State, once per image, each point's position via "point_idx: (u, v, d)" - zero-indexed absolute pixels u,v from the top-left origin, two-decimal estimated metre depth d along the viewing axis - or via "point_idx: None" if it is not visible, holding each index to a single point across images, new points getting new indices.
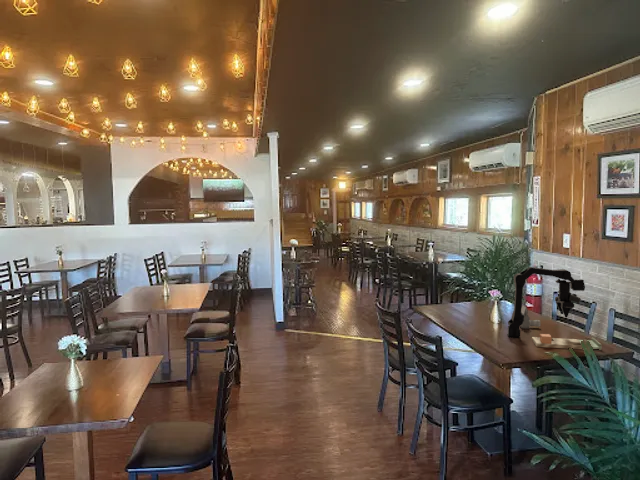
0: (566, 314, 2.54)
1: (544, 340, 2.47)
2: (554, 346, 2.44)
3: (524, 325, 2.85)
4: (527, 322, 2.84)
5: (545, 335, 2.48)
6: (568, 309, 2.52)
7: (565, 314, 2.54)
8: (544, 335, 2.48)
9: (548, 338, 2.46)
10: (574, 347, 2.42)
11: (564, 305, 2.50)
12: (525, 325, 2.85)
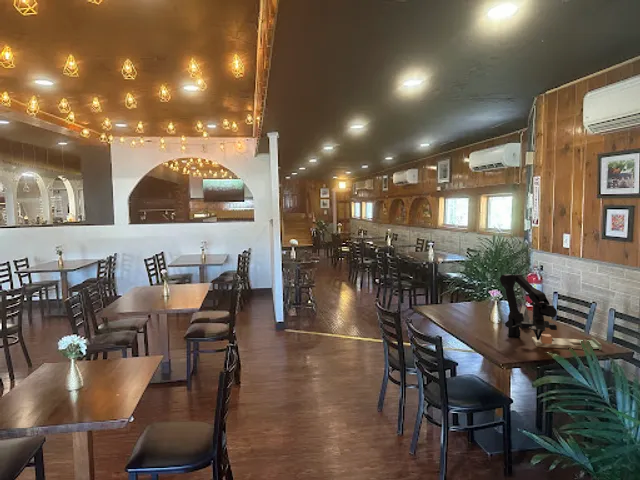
0: (536, 336, 2.50)
1: (544, 340, 2.47)
2: (554, 346, 2.44)
3: None
4: None
5: (545, 335, 2.48)
6: None
7: None
8: (544, 335, 2.48)
9: (549, 338, 2.46)
10: (574, 347, 2.42)
11: (520, 324, 2.54)
12: None
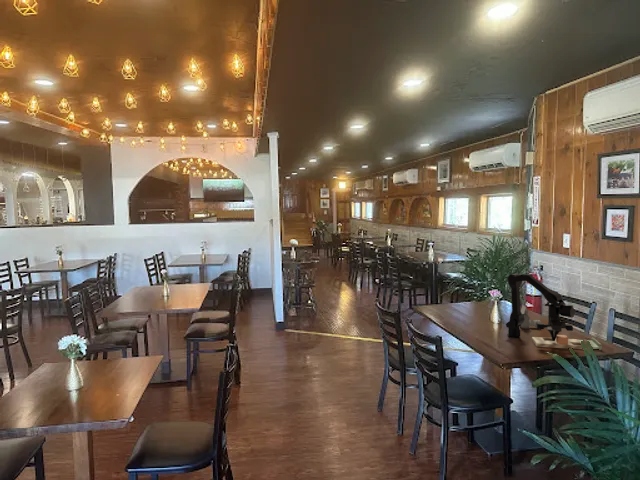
0: (551, 337, 2.48)
1: (560, 340, 2.44)
2: (554, 346, 2.44)
3: (524, 325, 2.85)
4: (527, 322, 2.84)
5: (561, 336, 2.46)
6: None
7: (551, 337, 2.48)
8: (560, 336, 2.46)
9: (565, 339, 2.44)
10: (574, 347, 2.42)
11: (535, 325, 2.52)
12: (525, 325, 2.85)
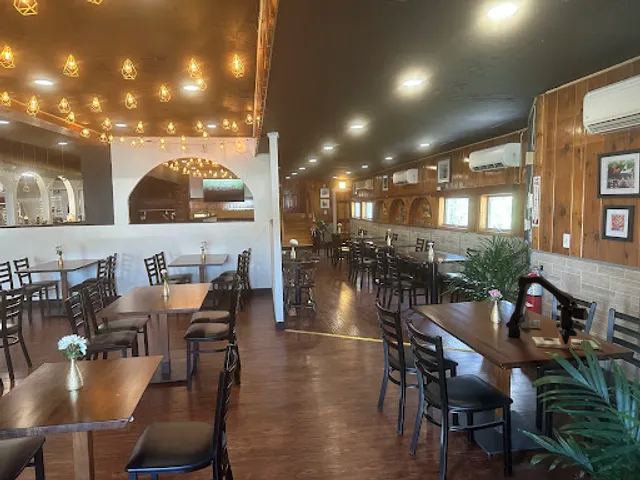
0: (566, 341, 2.41)
1: None
2: (554, 346, 2.44)
3: (524, 325, 2.85)
4: (527, 322, 2.84)
5: None
6: (568, 335, 2.40)
7: (565, 341, 2.41)
8: None
9: None
10: (574, 347, 2.42)
11: (566, 334, 2.33)
12: (525, 325, 2.85)
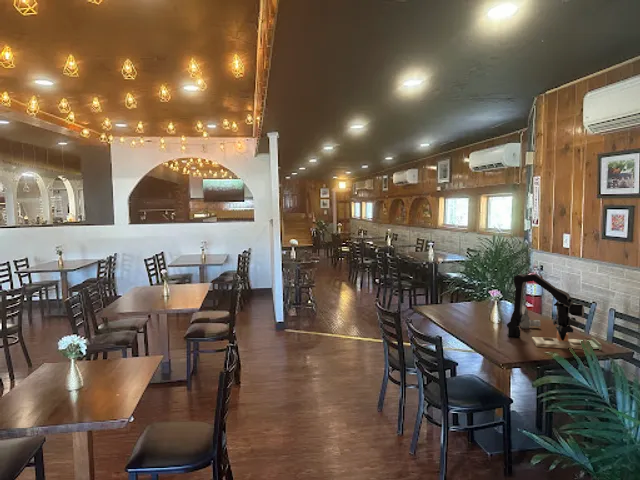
0: (563, 337, 2.48)
1: None
2: (554, 346, 2.44)
3: (524, 325, 2.85)
4: (527, 322, 2.84)
5: None
6: (565, 332, 2.46)
7: (562, 337, 2.48)
8: None
9: (565, 336, 2.50)
10: (574, 347, 2.42)
11: (563, 330, 2.40)
12: (525, 325, 2.85)
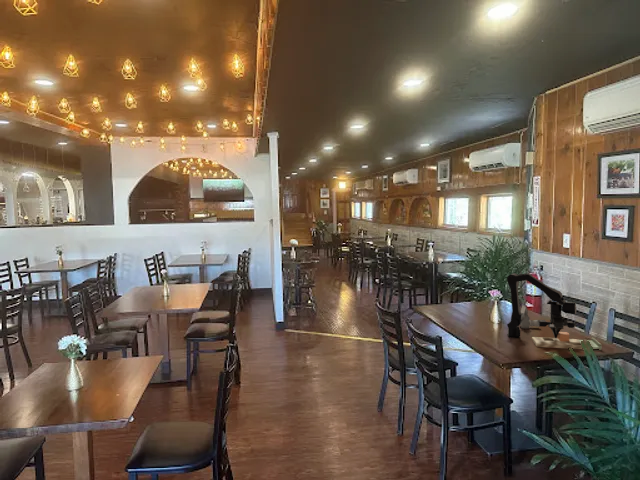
0: None
1: (562, 337, 2.50)
2: (554, 346, 2.44)
3: (524, 325, 2.85)
4: (527, 322, 2.84)
5: (563, 333, 2.52)
6: None
7: None
8: (562, 333, 2.52)
9: (566, 336, 2.50)
10: (574, 347, 2.42)
11: None
12: (525, 325, 2.85)
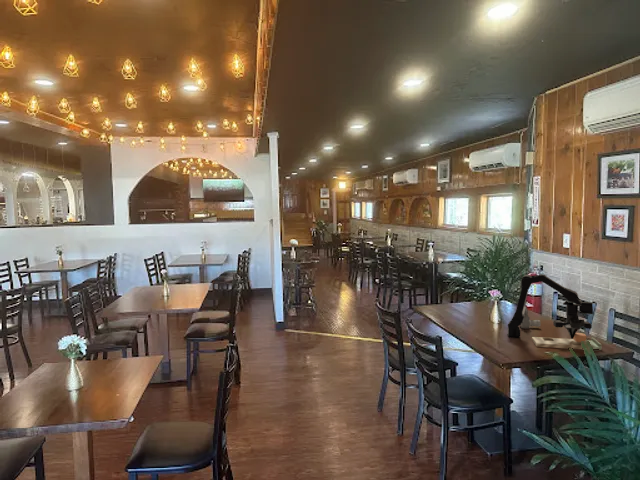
0: (570, 335, 2.51)
1: (578, 338, 2.48)
2: (554, 346, 2.44)
3: (524, 325, 2.85)
4: (527, 322, 2.84)
5: (580, 334, 2.49)
6: None
7: None
8: (579, 334, 2.49)
9: (583, 337, 2.47)
10: (574, 347, 2.42)
11: (553, 323, 2.55)
12: (525, 325, 2.85)
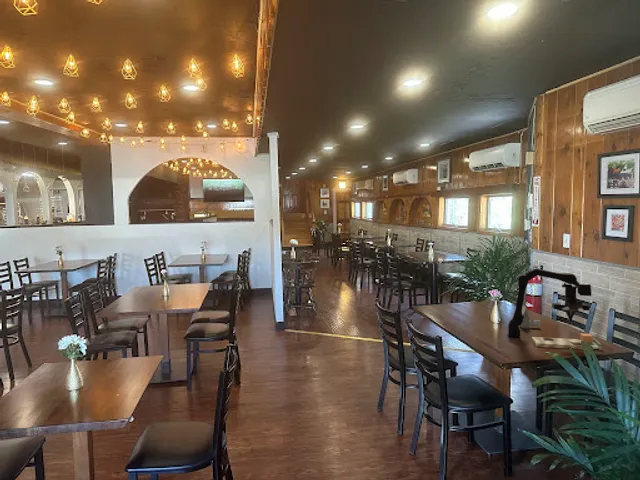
0: (568, 317, 2.53)
1: (585, 339, 2.47)
2: (554, 346, 2.44)
3: (524, 325, 2.85)
4: (527, 322, 2.84)
5: (586, 335, 2.49)
6: None
7: (568, 317, 2.53)
8: (585, 335, 2.49)
9: (589, 338, 2.46)
10: (574, 347, 2.42)
11: (552, 305, 2.57)
12: (525, 325, 2.85)
